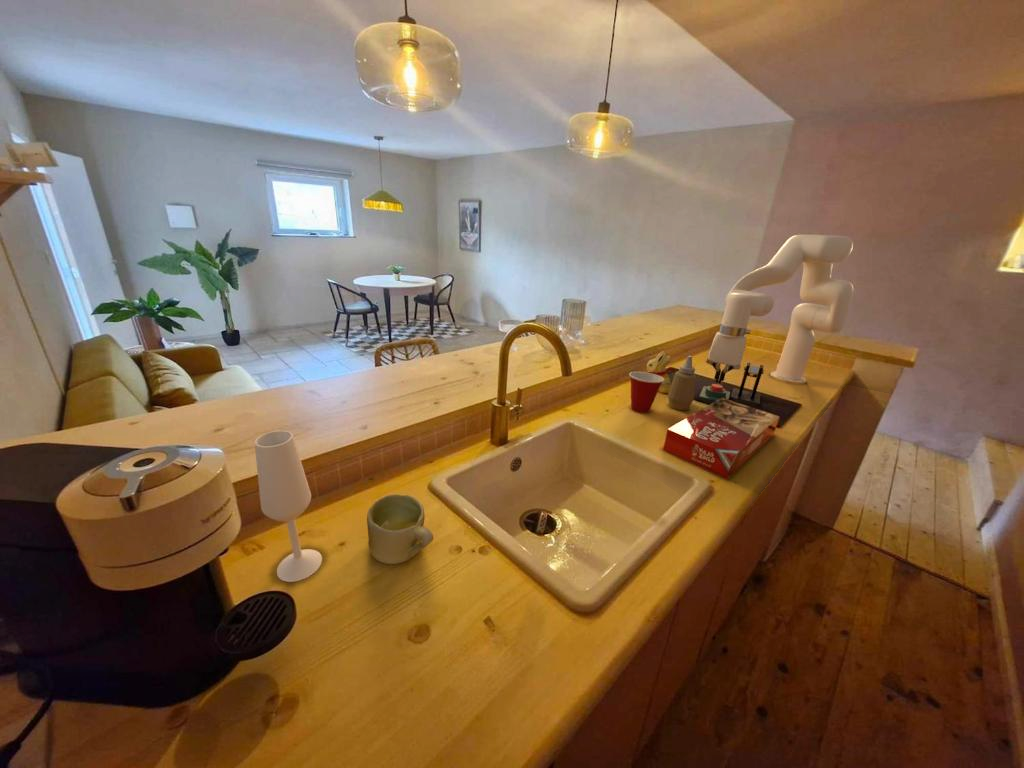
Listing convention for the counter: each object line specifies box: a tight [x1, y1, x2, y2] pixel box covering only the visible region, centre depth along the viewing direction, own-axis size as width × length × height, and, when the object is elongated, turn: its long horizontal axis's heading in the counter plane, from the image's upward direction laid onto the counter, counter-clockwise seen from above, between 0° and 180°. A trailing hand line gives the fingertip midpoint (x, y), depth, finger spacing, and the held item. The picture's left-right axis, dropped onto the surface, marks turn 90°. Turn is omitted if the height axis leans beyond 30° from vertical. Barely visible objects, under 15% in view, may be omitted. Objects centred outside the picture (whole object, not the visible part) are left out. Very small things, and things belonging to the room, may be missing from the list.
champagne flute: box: [254, 429, 323, 583], centre depth 60 cm, size 7×7×24 cm
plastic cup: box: [628, 371, 664, 414], centre depth 126 cm, size 11×11×12 cm
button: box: [710, 383, 724, 392], centre depth 137 cm, size 4×4×2 cm
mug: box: [366, 493, 434, 565], centre depth 67 cm, size 12×10×10 cm
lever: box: [743, 365, 760, 379], centre depth 142 cm, size 12×5×2 cm, turn 149°
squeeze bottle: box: [667, 355, 697, 411], centre depth 128 cm, size 8×8×18 cm
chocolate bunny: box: [645, 350, 672, 394], centre depth 143 cm, size 7×11×15 cm, turn 38°
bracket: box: [730, 362, 765, 405], centre depth 139 cm, size 11×9×13 cm
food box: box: [662, 398, 780, 480], centre depth 109 cm, size 35×16×6 cm, turn 132°
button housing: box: [698, 385, 731, 404], centre depth 138 cm, size 12×9×4 cm
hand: (718, 381), depth 137 cm, fingers closed
